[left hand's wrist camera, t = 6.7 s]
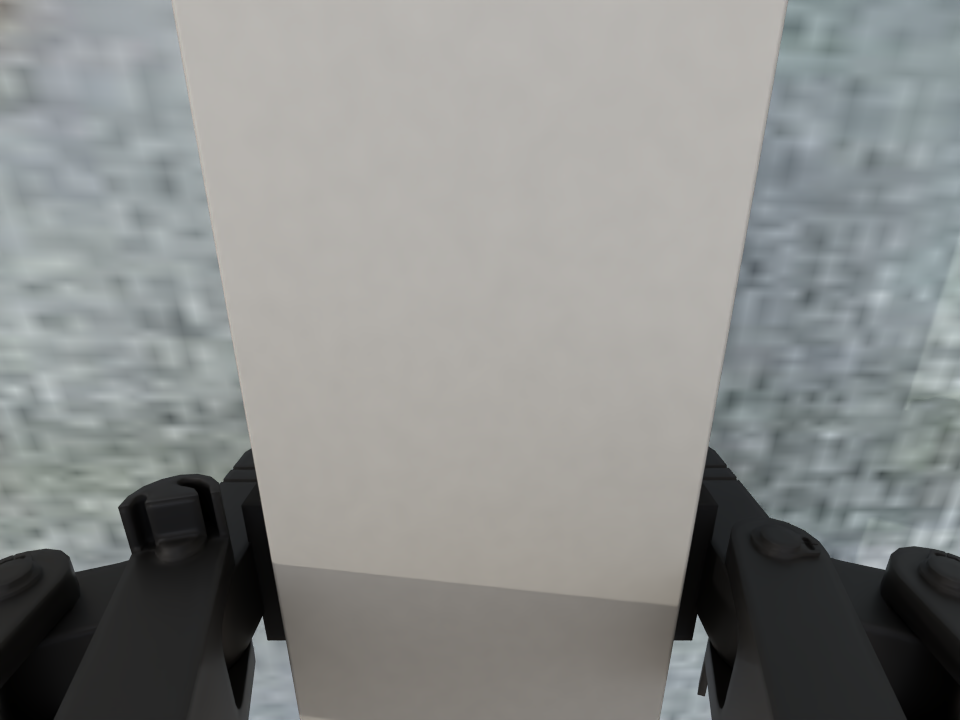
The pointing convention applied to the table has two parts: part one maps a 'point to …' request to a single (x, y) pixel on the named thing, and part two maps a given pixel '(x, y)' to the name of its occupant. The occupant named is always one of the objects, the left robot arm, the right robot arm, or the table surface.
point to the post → (479, 328)
